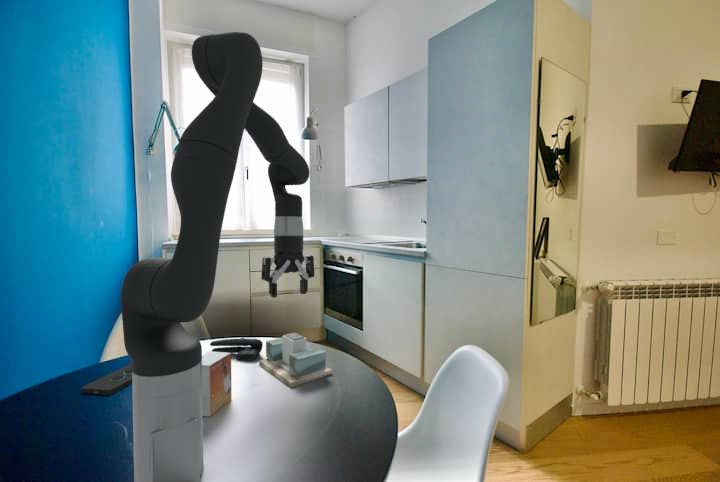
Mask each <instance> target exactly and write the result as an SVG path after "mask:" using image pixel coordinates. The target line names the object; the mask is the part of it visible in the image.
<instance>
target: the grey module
mask: <svg viewBox="0 0 720 482" xmlns="http://www.w3.org/2000/svg"><path fill="white" fill-rule="evenodd" d="M281 338H282V361H283V362H284V363H286V364H288V365H289V354H292V353H296V352H300V351H304V350H307V337H305V336H303V335H301V334H298V333H297V332H292V333H287V334H284V335H282V336H281Z"/></svg>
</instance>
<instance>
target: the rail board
mask: <svg viewBox="0 0 720 482" xmlns="http://www.w3.org/2000/svg"><path fill="white" fill-rule="evenodd" d="M265 351H266V352H265V354H266V355H265V357H266V358H264V359H261V360H259V366H261V367H262V368H263V369H264V370H266V371H268V372H269V373H270V374H271V375H273V376H274V377H275V378H277V379H278V380H279V381H281V382H282V383H284V384H285V385H287V386H288V387H290V388H294V387H296V386H299V385H300V386H301V385H303V384H305V383H308V382H309V383H310V382H312V381H315V380H318V379H321V378H324V377H328V376H330V375H332V374H333V369H332V368H330V367H329V366H326V365H327V364H326V361H327V358H326V354H327V353H326V351H325V350H322V349H320V348H318V347H312V348H309V349H308V348H306V350H304V351H300V352H296V353H292V354H289V365H288V364H286V363H284V362H283V361H282V337H278V338H273V339H269V340H266V341H265ZM327 375H328V376H327Z"/></svg>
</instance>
